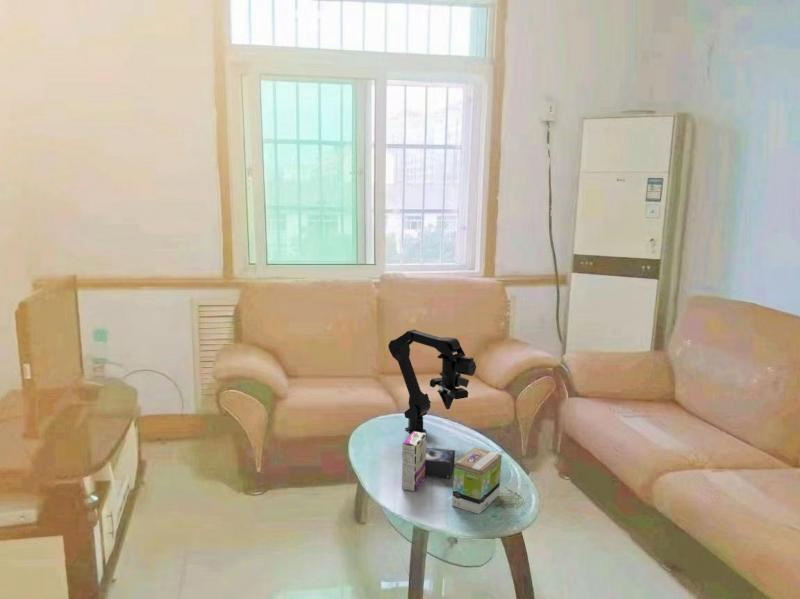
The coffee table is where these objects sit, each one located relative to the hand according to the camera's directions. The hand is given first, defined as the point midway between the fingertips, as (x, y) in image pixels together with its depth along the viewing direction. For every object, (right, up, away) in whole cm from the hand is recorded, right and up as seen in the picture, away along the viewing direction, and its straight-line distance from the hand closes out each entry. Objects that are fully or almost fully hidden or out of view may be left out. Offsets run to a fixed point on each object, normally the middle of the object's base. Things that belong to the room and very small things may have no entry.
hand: (447, 409), depth 243 cm
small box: (-4, -13, -20) cm, 25 cm away
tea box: (+6, -22, -44) cm, 50 cm away
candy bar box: (-14, -19, -34) cm, 42 cm away
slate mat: (+1, -18, -26) cm, 32 cm away
